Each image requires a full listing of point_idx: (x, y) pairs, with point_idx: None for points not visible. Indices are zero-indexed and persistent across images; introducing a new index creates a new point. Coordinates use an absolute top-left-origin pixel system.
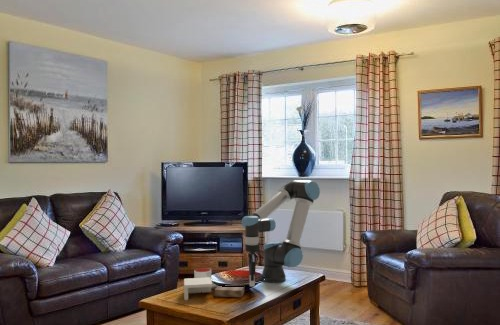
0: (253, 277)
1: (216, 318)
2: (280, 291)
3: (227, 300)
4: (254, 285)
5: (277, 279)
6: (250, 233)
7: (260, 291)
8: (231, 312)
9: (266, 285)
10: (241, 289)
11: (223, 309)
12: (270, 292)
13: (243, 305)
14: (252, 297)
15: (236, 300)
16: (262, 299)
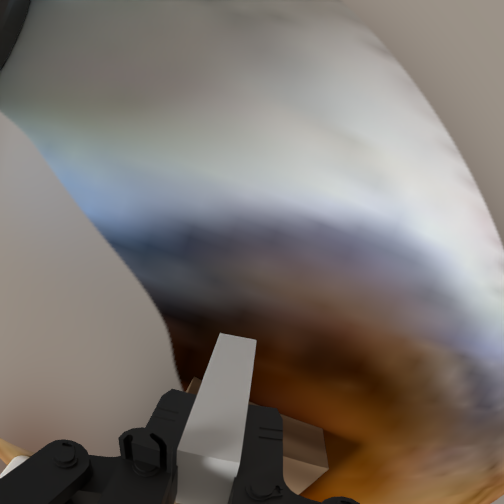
0: (280, 453)
1: (499, 497)
2: (293, 21)
3: (342, 493)
4: (255, 347)
5: (14, 4)
6: None
7: (212, 221)
8: (500, 468)
9: (47, 104)
10: (295, 463)
11: (451, 497)
12: (292, 126)
13: (476, 431)
14: (376, 359)
15: (374, 460)
16: (464, 294)
